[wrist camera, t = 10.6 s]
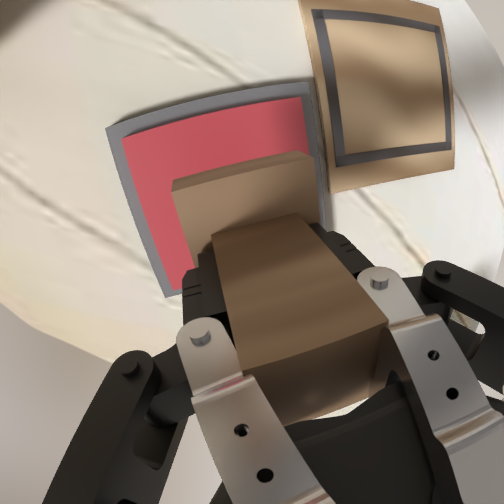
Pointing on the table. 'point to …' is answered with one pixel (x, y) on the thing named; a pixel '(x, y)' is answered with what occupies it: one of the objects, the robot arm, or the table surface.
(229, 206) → the wooden stamp
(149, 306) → the table surface
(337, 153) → the marked card
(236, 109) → the ink pad
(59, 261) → the table surface
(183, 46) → the table surface
